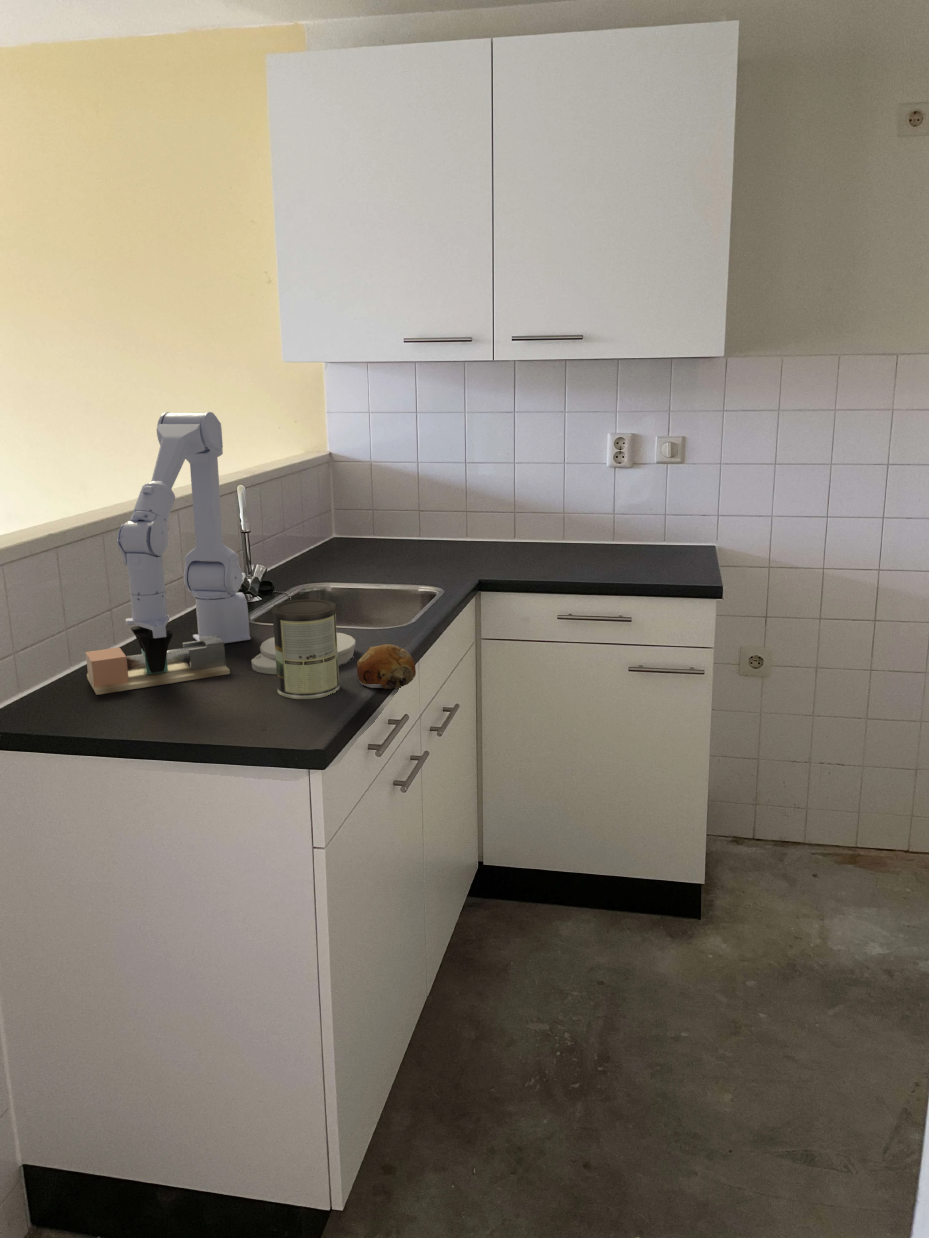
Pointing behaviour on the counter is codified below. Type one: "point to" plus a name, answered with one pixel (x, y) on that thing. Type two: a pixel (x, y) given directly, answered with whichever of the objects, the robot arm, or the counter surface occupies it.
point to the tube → (171, 659)
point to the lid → (268, 658)
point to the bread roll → (386, 666)
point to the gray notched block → (206, 653)
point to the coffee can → (306, 648)
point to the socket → (107, 667)
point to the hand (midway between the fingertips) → (155, 668)
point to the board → (160, 678)
